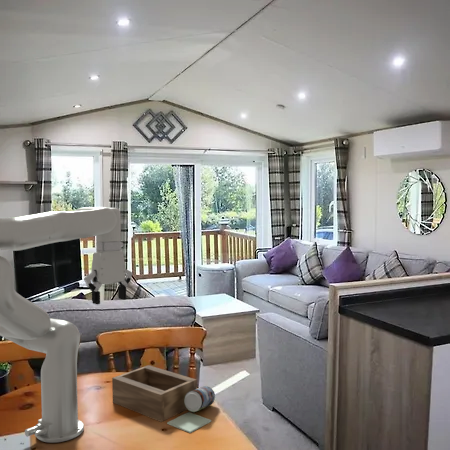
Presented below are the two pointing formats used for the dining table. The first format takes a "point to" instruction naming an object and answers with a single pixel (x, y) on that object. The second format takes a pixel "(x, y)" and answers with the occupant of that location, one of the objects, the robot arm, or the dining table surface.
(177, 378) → the box
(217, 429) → the dining table surface
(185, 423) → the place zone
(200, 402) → the beverage can
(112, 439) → the dining table surface
